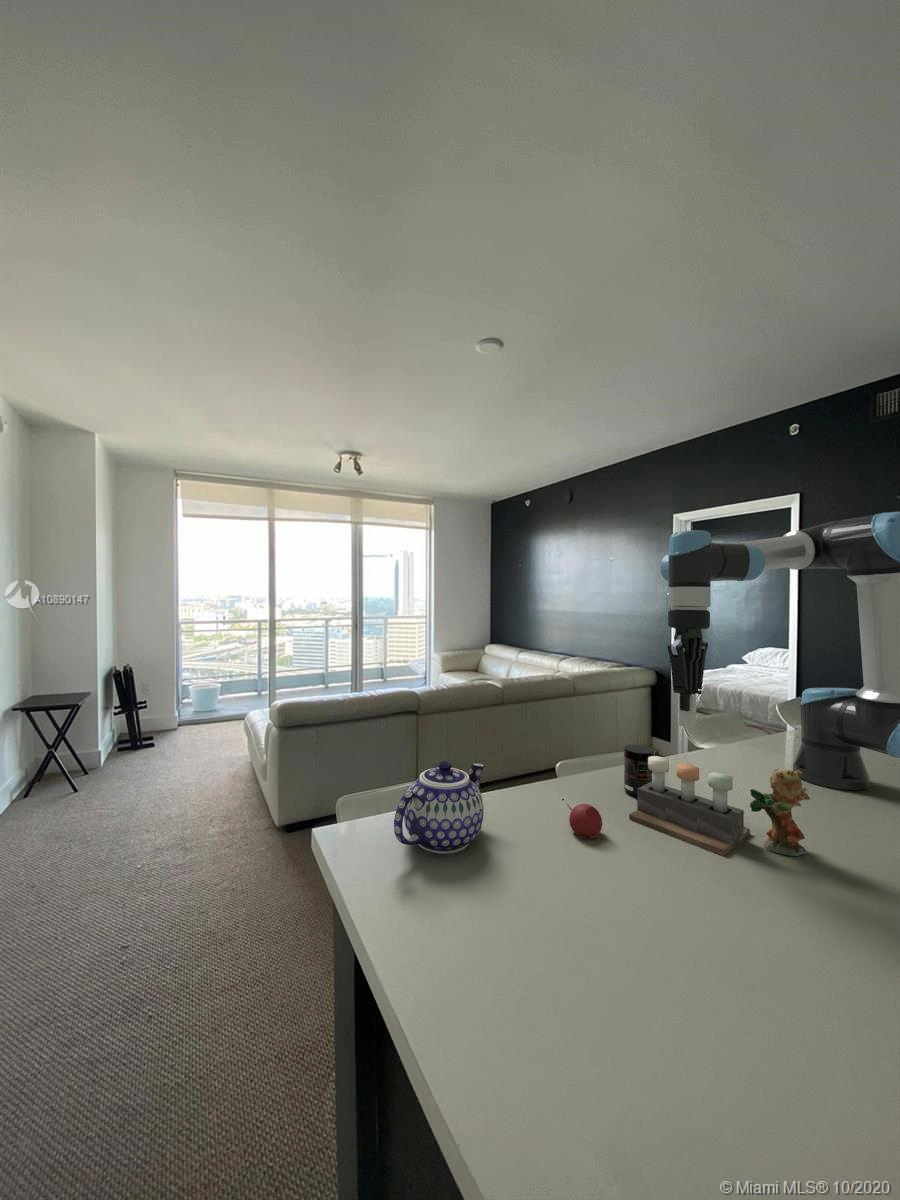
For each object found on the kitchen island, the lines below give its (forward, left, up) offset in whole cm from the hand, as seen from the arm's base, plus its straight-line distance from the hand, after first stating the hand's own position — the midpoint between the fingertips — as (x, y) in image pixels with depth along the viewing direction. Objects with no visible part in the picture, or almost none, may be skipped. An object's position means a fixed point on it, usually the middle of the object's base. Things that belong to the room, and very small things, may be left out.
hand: (687, 726), depth 94 cm
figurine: (-4, +14, -20) cm, 25 cm away
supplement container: (-8, -14, -20) cm, 26 cm away
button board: (0, 0, -20) cm, 20 cm away
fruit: (+18, -12, -20) cm, 30 cm away
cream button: (0, -6, -15) cm, 16 cm away
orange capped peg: (0, 0, -15) cm, 15 cm away
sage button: (0, +6, -15) cm, 16 cm away
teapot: (+41, -26, -20) cm, 53 cm away
